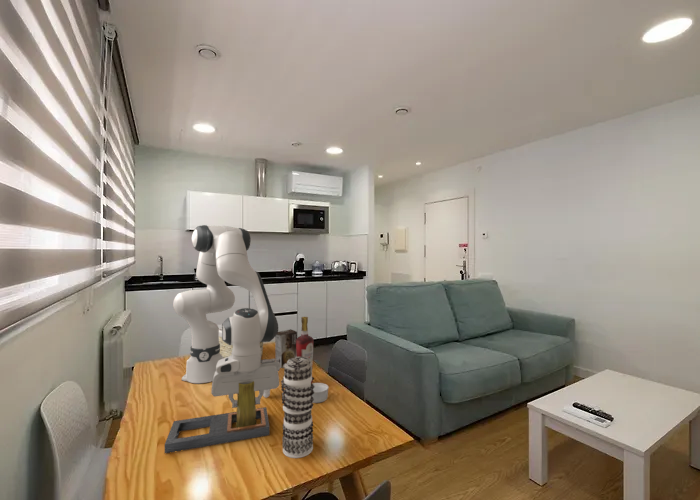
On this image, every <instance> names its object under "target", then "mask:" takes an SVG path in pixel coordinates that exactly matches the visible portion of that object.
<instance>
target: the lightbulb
mask: <svg viewBox="0 0 700 500" xmlns="http://www.w3.org/2000/svg"><path fill="white" fill-rule="evenodd" d="M271 390H272V389H268V390H264V394H263V396H262V397H264V398H265V399H267V398H269V397H270V395H271Z"/></svg>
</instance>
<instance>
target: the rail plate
mask: <svg viewBox="0 0 700 500" xmlns="http://www.w3.org/2000/svg"><path fill="white" fill-rule="evenodd" d="M267 408H268V407H266V406H265V407H259V408H256V420H258V419H260V423H259V424H258V423H256V425H251V426H245V427H238V428H237V427H232V426H233V425H232V424H236V422H237V411H232V412H226V413H218V414H212V415H207V416H201V417H199V416H198V417H192V418H185V419H179V420H175V421H173V422H172V425H171V428H170V430H169V433H168V436H167V438H166V440H165V443H164V454H165V453H166V454H171V453H175V451H177V452H182V451H181V450H183V451H187V450H188V451H189V450H193V449H198V448H204V447H210V446H215V445H221V444H226V443H227V444H228V443H233V442H237V441H238V442H239V441H244V440H249V439H254V438H255V439H256V438H262V437H267V436H270V423H269V416H268V410H267ZM204 428H209V431H208V433H203V434H197V435H191V436H185V437H179V435H180V433H181V432H185V431H191V430H195V429H196V430H197V429H204ZM179 432H180V433H179ZM170 452H171V453H170Z"/></svg>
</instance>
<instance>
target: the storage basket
mask: <svg viewBox="0 0 700 500" xmlns="http://www.w3.org/2000/svg"><path fill="white" fill-rule="evenodd" d="M218 328H219V343H220V354H221V355H222V357H223V358H226V357H228V356H231V355H232V349H233V345H228V344H227V343H225V342H224V341H223V340H222V326H221V327H218ZM260 348H261V358H262V357H263V351H264V342H260Z"/></svg>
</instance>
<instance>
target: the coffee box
mask: <svg viewBox="0 0 700 500" xmlns="http://www.w3.org/2000/svg"><path fill="white" fill-rule="evenodd" d="M297 338H298V331H296V330H294V329H290V328H289V329H286V330H281V331H280V330H279V331H278V333H277V335H276V336H275V337H274V339H275V340H274V341H275V342H274V343H275V352H274V353H275V360H278V361H279V362H280V369H284V366H283V365H284V364H285V363H287V361H288V360H289V359H291V358H293V357H297V355H296V339H297Z"/></svg>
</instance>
